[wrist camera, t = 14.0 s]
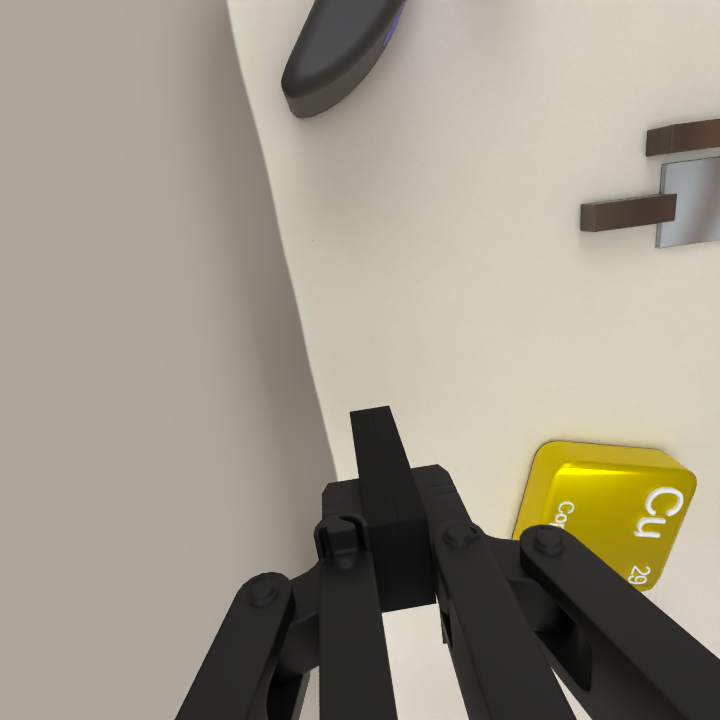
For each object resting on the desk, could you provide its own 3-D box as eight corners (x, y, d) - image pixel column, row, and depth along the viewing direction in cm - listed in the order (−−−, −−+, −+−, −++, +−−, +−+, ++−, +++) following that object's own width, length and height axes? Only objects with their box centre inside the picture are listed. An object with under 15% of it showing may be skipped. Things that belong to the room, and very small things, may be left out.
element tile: (538, 437, 48) (560, 462, 43) (673, 449, 49) (709, 474, 45) (505, 557, 52) (522, 591, 48) (630, 565, 54) (658, 598, 49)
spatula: (579, 258, 42) (592, 260, 40) (581, 174, 40) (595, 173, 38) (741, 235, 42) (763, 237, 40) (752, 152, 40) (776, 149, 38)
